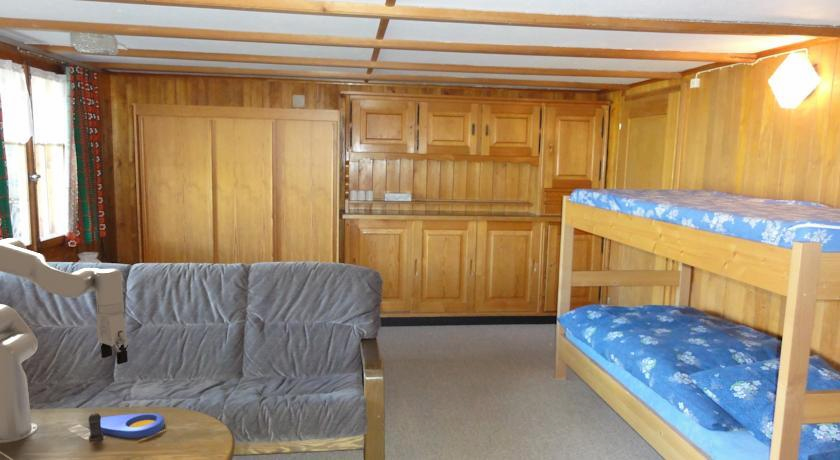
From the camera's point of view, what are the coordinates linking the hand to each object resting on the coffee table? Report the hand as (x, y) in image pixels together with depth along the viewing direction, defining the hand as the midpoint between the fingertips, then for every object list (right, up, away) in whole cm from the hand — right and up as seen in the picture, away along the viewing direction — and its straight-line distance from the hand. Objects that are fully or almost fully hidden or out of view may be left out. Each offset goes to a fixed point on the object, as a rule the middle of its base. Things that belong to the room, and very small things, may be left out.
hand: (114, 359), depth 191 cm
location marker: (+2, -24, +4) cm, 24 cm away
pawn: (-4, -24, -4) cm, 25 cm away
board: (-9, -24, 0) cm, 26 cm away
